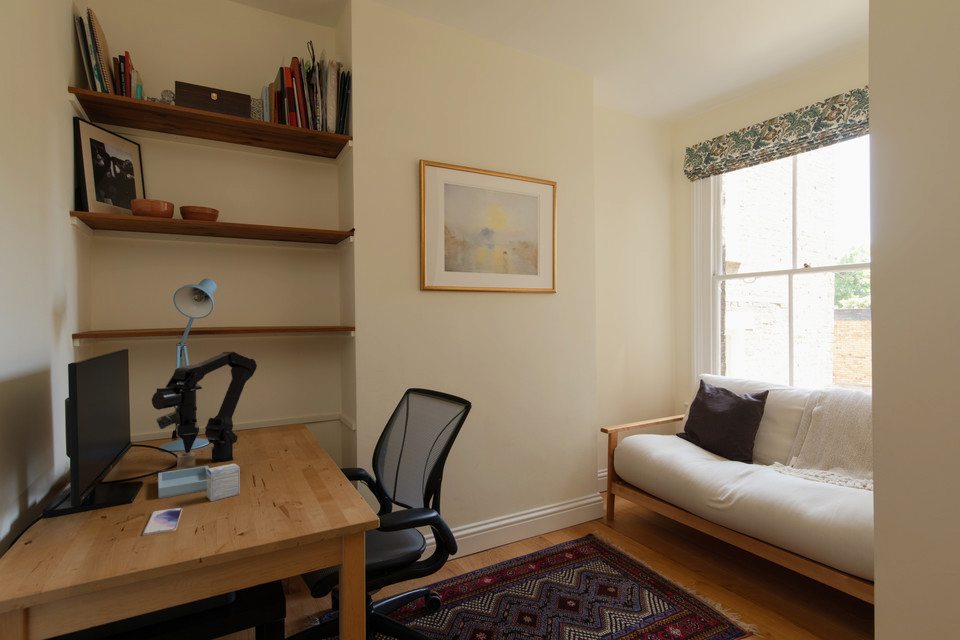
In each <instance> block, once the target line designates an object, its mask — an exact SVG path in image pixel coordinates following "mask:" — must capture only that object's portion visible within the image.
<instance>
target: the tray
mask: <svg viewBox="0 0 960 640" xmlns="http://www.w3.org/2000/svg"><path fill="white" fill-rule="evenodd" d="M209 468H210V467H209V465H202V466H198V467H197V466H195V468H189V469H182V470H177V469H175V470H171V471H170V470H169V471H164V472H158V481H157V482H158V483H157V484H158V487H157V488H158V489H157V490H158V499H163V498H164V499H165V498H169V497H176V496H181V495H187V494H192V493H199V492H205V491H207V469H209Z"/></svg>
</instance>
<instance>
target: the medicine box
mask: <svg viewBox="0 0 960 640" xmlns="http://www.w3.org/2000/svg"><path fill="white" fill-rule="evenodd" d="M240 469H241V468H240V466H239V465H238V464H236V463H230V464H225V465H219V466H215V467H209V469H207V490H206V498H207V499H208V500H209V501H210V502H213V501H218V500H222V499H225V498H230V497H234V496H238V495H240V490H241V489H240V477H241V475H240V474H241V473H240Z"/></svg>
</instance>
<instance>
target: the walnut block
mask: <svg viewBox="0 0 960 640" xmlns="http://www.w3.org/2000/svg"><path fill="white" fill-rule="evenodd" d="M176 462H177V463H176V464H177V465H176V466H177V469H176V470H182V469H189V468H196V453H195V451H190V452H189V453H186V452H184V453H183V452H182V453H177V460H176Z"/></svg>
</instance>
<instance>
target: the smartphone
mask: <svg viewBox="0 0 960 640" xmlns="http://www.w3.org/2000/svg"><path fill="white" fill-rule="evenodd" d="M182 513H183V507H176V508H175V507H174V508H168V509H167V508H166V509H160V510H154V511H152V512H151V515H150V517H149V519H148V521H147V523H146V525H145V527H144V529H143V531H142V536H143V537H146V536H153V535H160V534H164V533H172V532H174V531H176V530H177V528H178V525H179V522H180V518H181V515H182Z"/></svg>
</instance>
